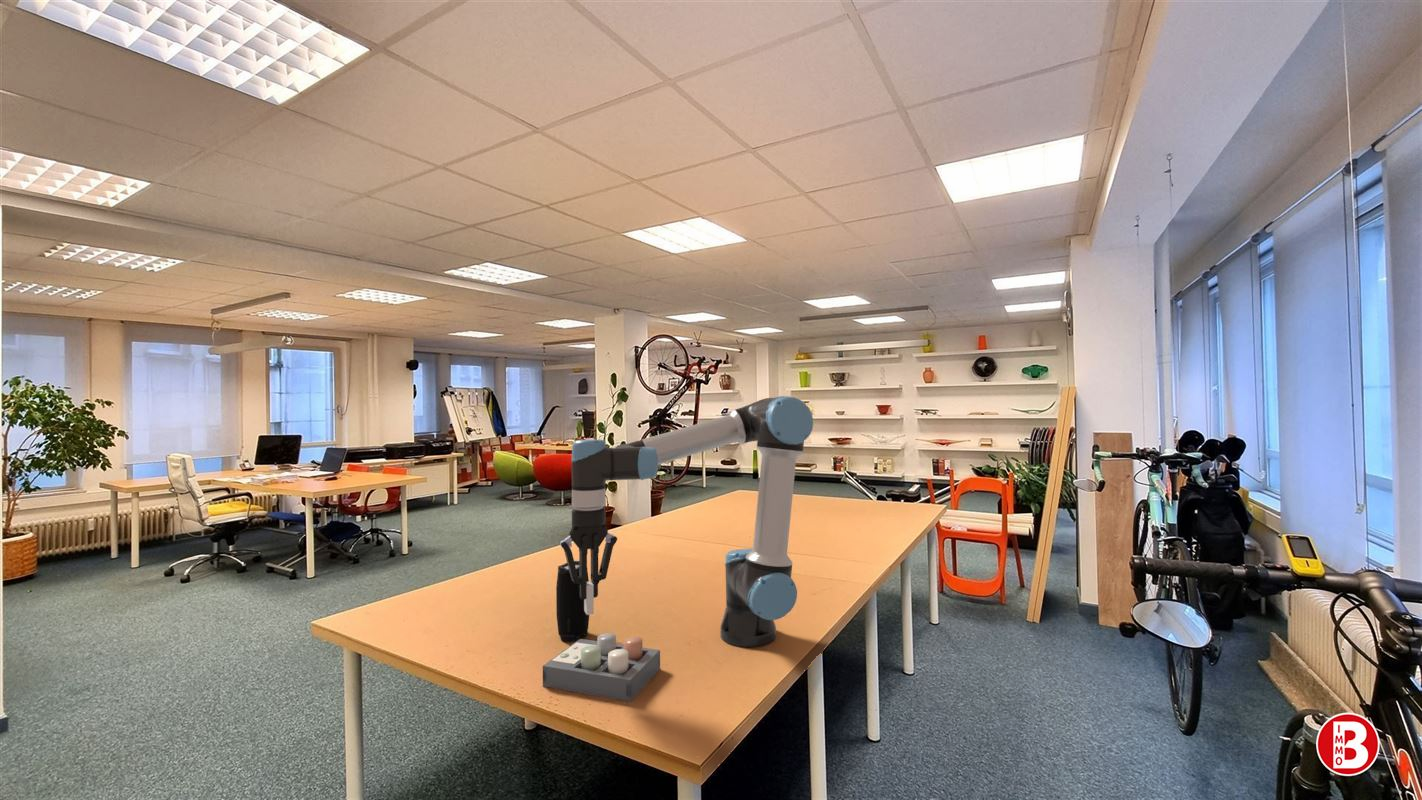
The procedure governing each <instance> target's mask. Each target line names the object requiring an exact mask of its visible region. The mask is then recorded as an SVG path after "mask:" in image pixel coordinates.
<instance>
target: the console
mask: <svg viewBox="0 0 1422 800" xmlns="http://www.w3.org/2000/svg"><path fill="white" fill-rule="evenodd" d="M590 645H596V646H597V640H591V639H585V638H584V639H583V638H578V639H577V641H574V643H572V644H570V645H569V646H568V647H567V648H565V649H564V650H563V651H561V652H560V653H558V654H557V655H555V656H554V657H553V658H551V659H550V660H549V661H547V662H545V664H542V687H544V688H545V687H547V688H552V689H557V690H563V691H569V692H574V693H578V694H580V693H581V694H586V695H590V696H596V697H601V698H608V699H613V700H619V701H623V702H629V703H630V702H632V701H633V699H634V698H635V697H636V696H637V695H638V694H639V693H640V692H641V690H643V688H645V687H646V686H647V684H648V683H649V682H650V681H651V680H652V678H653V677H655V675H656V674H657V673H658V672H659V671H660V670H661V649H655V648H648V647H643V657H642V658H641V659H640V660H639V661H634V660H628V670H629V671H628V672H627V673H625V674H624V675H617V674H610V673H608V657H607V656H601V666H600V667H599V668H598V669H597V670H596V671H592V670H585V669H581V649H582V648H584V647H586V646H590ZM616 649H624V644H619V643H616Z"/></svg>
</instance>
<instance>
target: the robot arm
mask: <svg viewBox="0 0 1422 800" xmlns="http://www.w3.org/2000/svg"><path fill="white" fill-rule="evenodd" d="M813 428H814V417H813V413H812V411H811V410H810V408H809V407H808V405H807V404H806V403H805V402H804V401H803V400H802V399H799V398H797V397H794V396H788V395H786V396H785V395H783V396H782V395H780V396H777V397H767V398H763V399H760V400H757V401H754V402H752V403H750V404H747V405H745V406H743V407H739V408H736V409H732V410H731V411H730V413H729V414H728V415H724V416H721V417H717V418H714V419H710V420H707V421H704V422H700V423H699V422H698V423H696V424H693V425H688V426H686V427H683V428H682V427H681V428H679V429H675V430H671V431H668V432H664V433H660V434H658V435H657V434H656V435H653V436H650V437H646V438H643V439H640V440H636V441H632V442H629V443H620V444H618V445H617V446H615V447H607V445H606V441H605V440H604V439H576V440H575V441H574V442H573V443H572V448H571V507H573V509H572V510H571V530H570V531H569V534H568V536H567V537H566V538H564V539H561V540H559V545H560V547H561V548H562V550H563V551H564V555H565V560H566V563H567V564H568V568H569V572H570V575H571V579H572V581H573V582H574V583H575V584H580V597H581V599H584V611H585V613H586V614H587V615H589V616H590V615H593V614H594V607H595V606H594V602H595V601H594V598H597V597H598V596H599V584H600V582H601V581H602V580H606V578H607V575H608V571H609V566H610V562H611V558H612V553H613V549H614V546H615V545H616V543H617V541H618V537H617V536H615V535H614V534H611V533H609V530H608V528H607V527H606V524H607V523H606V520H607V517H606V516H607V515H606V508H605V505H606V500H607V499H606V481H626V480H627V481H629V480H633V481H634V480H640V481H644V480H649V479H650V480H651V479H654V478H655V477H657V474H658V470H659V469H658V468H659V465H662V464H665V463H670V462H672V461H676V460H679V459H682V458H686V457H689V456H692V455H696V454H700V453H703V452H707V451H710V450H714V449H717V448H720V447H723V446H728V445H730V444H734V443H739V444H740V445H744V444H747V443H750V442H757V443H756V448H757V450H758V451H759V452H760V453H761V463H760V464H761V465H760V473H759V483H758V494H757V504H756V513H755V514H756V515H755V524H754V534H753V544H752V545H753V546H752V548H741V549H739V548H738V549H733V550H729V551H727V553H726V554H725V561H724V566H725V596H726V597H725V598H726V599H725V601H726V603H725V604H726V606H725V609H724V610H725V611H724V614H723V617H722V621H721V623H720V630H719V631H720V633H719V634H720V638H721V639H722V640H723V641H724V642H725V643H727V644H729V645H733V646H737V647H742V648H743V647H745V648H754V647H755V648H756V647H762V646H765V645H768V644H770V643H772V642H774V641H775V640H776V638H777V627H776V623H775V621H776V620H780V619H782V618H784V617H786V615H788V613H790V612H791V611H792V610H793V608H794V607H795V604H796V603H797V600H798V589H797V585H796V583H795V581H794V580H793V579H792V574H793V573H792V570H793V561H792V560H791V558H790V557H789V555H788V547H789V535H790V528H791V527H790V525H791V515H792V505H793V504H792V503H793V495H794V493H793V492H794V485H795V475H796V464H797V463H796V462H797V459H798V458H799V456H801V455H802V454H804V445H805V441H806V440H807V439H808V438H809V436H810V435H811V434H812V432H813ZM603 541H605V544H604V547H603V548H604V549H603V553H602V558H601V561H600V566H599V553H600V547H601V545H602V543H603ZM572 542H573V543H574V545H576V547H577V548H578V552H579V553H578V556H579V558H578V559H579V560H578V561H579V577H578V575H577V571H576V567H575V563H574V561H575V560H574V559H575V558H574V555H573V551H572V549H571V548H572V545H573V543H572ZM588 550H590V580H589V582H587V571H588Z"/></svg>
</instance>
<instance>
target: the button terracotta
mask: <svg viewBox="0 0 1422 800" xmlns="http://www.w3.org/2000/svg"><path fill="white" fill-rule="evenodd" d="M622 642H623V644H622V645H624V650H627V651H628V660H634V661H639V660H640V659H641V658H642V657H643V648H644V647H643V638H642V637H640V636H629V637H626V638H625V639H624V640H623V641H622Z"/></svg>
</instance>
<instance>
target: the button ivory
mask: <svg viewBox="0 0 1422 800" xmlns="http://www.w3.org/2000/svg"><path fill="white" fill-rule="evenodd" d="M628 671H629V670H628V651H627V650H624V649H616V650H613V651H610V652H609V653H608V673H610V674H617V675H624V674H625V673H627V672H628Z"/></svg>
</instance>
